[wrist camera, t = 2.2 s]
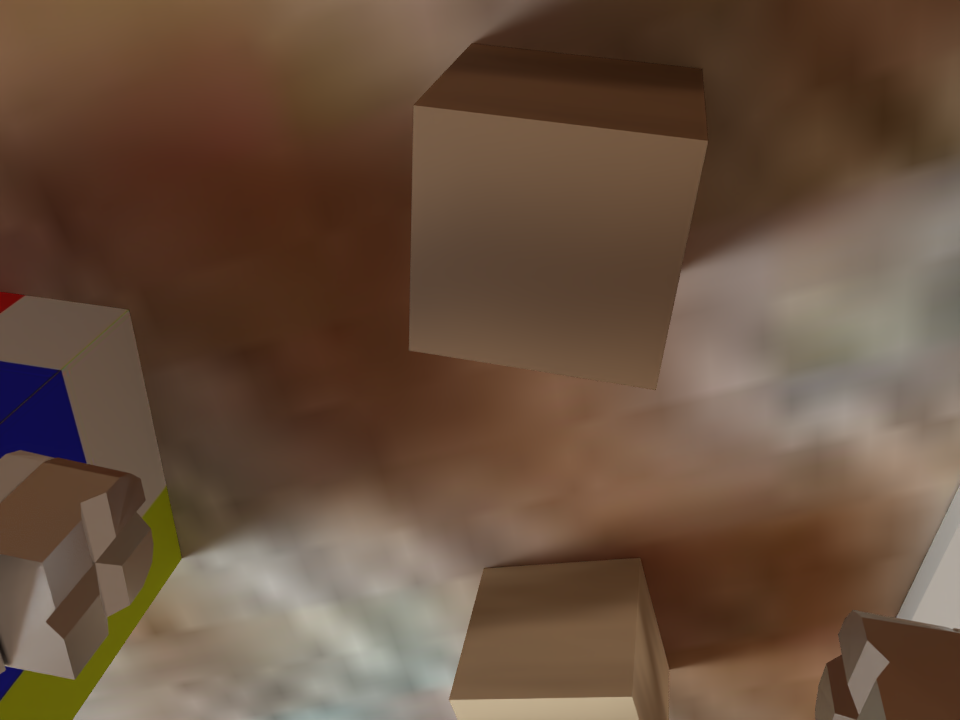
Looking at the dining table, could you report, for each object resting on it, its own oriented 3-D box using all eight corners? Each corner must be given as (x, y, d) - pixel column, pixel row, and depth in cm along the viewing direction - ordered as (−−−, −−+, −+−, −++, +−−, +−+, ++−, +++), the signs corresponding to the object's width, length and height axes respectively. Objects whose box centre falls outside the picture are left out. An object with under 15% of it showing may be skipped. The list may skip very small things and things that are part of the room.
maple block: (484, 566, 27) (449, 699, 23) (640, 555, 26) (631, 696, 22) (524, 671, 30) (498, 809, 26) (669, 667, 28) (667, 814, 24)
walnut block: (472, 42, 19) (413, 105, 15) (701, 68, 18) (707, 140, 14) (461, 248, 22) (408, 350, 17) (661, 276, 21) (656, 390, 17)
